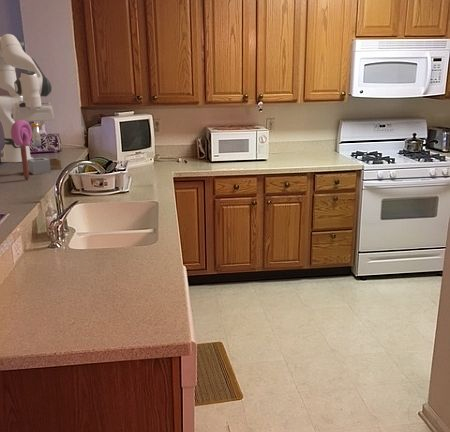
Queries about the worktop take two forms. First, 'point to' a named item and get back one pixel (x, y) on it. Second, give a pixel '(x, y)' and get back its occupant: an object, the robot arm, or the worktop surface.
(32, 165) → the socket
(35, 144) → the pin
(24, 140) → the lollipop
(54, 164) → the mount
